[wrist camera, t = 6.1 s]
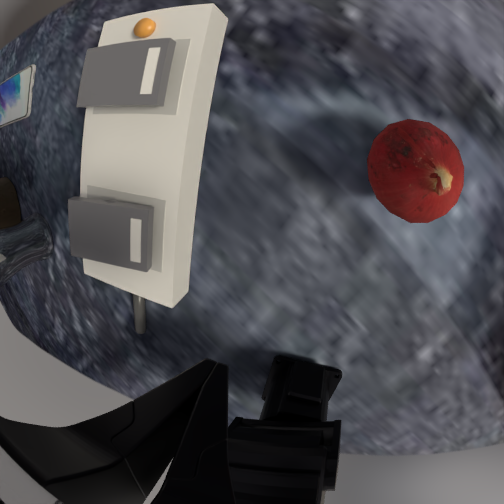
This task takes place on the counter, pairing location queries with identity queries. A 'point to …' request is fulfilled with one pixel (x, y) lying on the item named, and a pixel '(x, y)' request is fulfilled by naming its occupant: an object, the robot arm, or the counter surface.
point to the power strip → (156, 149)
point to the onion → (415, 170)
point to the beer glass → (24, 245)
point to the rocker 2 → (111, 232)
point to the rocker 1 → (127, 74)
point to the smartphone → (16, 96)
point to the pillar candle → (8, 204)
